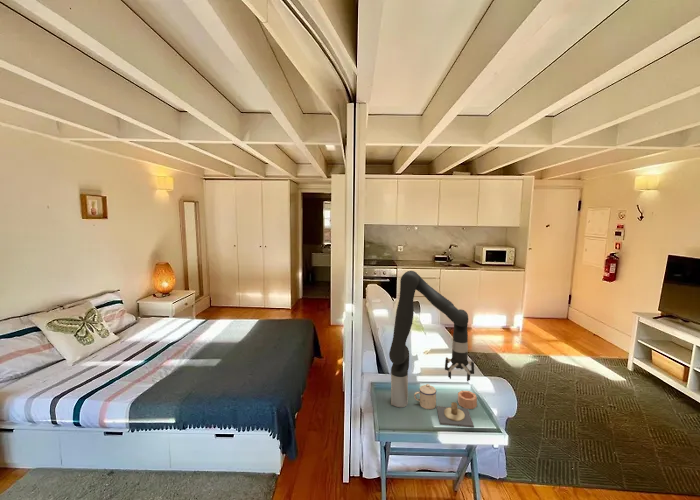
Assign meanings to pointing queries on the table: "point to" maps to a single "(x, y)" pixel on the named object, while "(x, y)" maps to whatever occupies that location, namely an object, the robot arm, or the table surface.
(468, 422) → the mat
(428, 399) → the teacup with lid
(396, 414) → the table surface
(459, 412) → the lid
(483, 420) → the table surface
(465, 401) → the bowl
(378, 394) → the table surface
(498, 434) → the table surface
